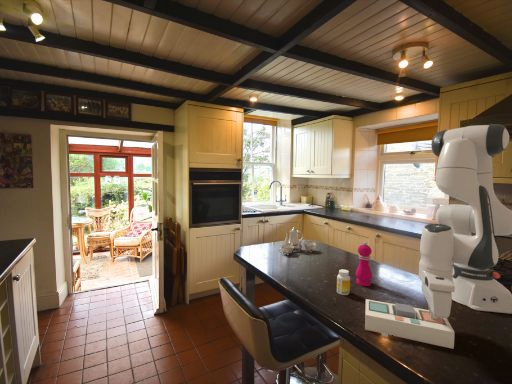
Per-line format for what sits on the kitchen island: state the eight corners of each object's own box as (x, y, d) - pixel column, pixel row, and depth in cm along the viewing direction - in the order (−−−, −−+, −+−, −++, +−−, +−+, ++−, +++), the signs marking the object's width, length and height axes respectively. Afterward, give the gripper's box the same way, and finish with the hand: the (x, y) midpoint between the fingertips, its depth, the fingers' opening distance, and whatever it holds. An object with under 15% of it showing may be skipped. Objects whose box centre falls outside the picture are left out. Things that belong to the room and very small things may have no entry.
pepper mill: (373, 287, 119) (375, 244, 118) (356, 286, 120) (358, 243, 119) (369, 281, 126) (371, 240, 125) (354, 279, 127) (355, 239, 126)
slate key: (412, 314, 89) (412, 305, 89) (414, 322, 84) (415, 313, 84) (394, 311, 91) (395, 302, 91) (396, 318, 86) (396, 309, 86)
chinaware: (285, 260, 162) (287, 234, 159) (271, 250, 176) (273, 227, 173) (319, 254, 175) (322, 230, 173) (303, 245, 190) (305, 223, 187)
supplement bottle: (334, 292, 113) (335, 270, 113) (340, 288, 117) (340, 267, 117) (346, 296, 110) (347, 274, 109) (351, 292, 114) (352, 270, 113)
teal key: (385, 313, 92) (386, 305, 92) (386, 321, 87) (387, 312, 87) (369, 310, 94) (370, 302, 94) (369, 317, 89) (370, 309, 89)
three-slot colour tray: (442, 327, 88) (443, 312, 87) (453, 348, 77) (454, 331, 76) (365, 312, 97) (365, 298, 97) (365, 329, 86) (365, 314, 86)
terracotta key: (440, 323, 86) (440, 315, 86) (444, 332, 81) (444, 323, 81) (421, 320, 88) (421, 311, 88) (424, 328, 83) (425, 319, 83)
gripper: (417, 264, 94) (415, 301, 95) (430, 285, 75) (427, 331, 76) (438, 266, 92) (436, 304, 93) (456, 289, 73) (454, 337, 74)
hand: (432, 317), depth 84 cm, fingers closed, pressing on terracotta key
